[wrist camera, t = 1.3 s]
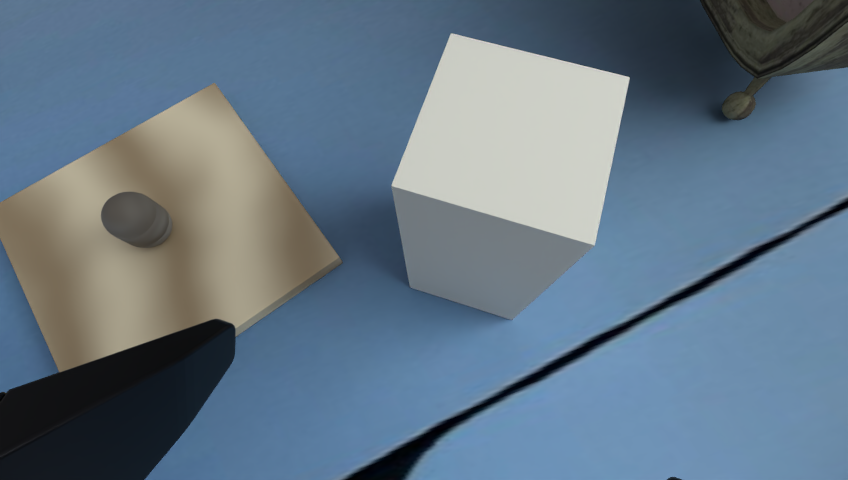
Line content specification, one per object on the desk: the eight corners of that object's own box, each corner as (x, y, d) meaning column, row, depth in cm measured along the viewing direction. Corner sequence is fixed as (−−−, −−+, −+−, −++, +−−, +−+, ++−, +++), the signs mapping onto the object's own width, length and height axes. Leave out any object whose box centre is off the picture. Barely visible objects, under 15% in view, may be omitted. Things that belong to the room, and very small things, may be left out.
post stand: (101, 429, 21) (18, 438, 17) (4, 216, 25) (-83, 179, 21) (342, 262, 24) (324, 233, 20) (221, 93, 28) (184, 38, 23)
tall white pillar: (512, 319, 23) (594, 245, 11) (409, 287, 23) (391, 185, 12) (536, 224, 24) (629, 77, 13) (441, 196, 25) (451, 33, 14)
